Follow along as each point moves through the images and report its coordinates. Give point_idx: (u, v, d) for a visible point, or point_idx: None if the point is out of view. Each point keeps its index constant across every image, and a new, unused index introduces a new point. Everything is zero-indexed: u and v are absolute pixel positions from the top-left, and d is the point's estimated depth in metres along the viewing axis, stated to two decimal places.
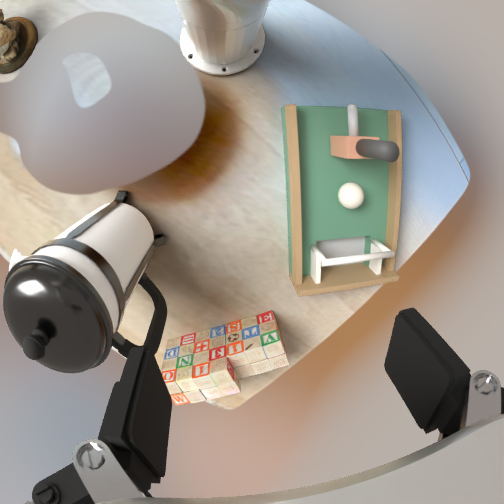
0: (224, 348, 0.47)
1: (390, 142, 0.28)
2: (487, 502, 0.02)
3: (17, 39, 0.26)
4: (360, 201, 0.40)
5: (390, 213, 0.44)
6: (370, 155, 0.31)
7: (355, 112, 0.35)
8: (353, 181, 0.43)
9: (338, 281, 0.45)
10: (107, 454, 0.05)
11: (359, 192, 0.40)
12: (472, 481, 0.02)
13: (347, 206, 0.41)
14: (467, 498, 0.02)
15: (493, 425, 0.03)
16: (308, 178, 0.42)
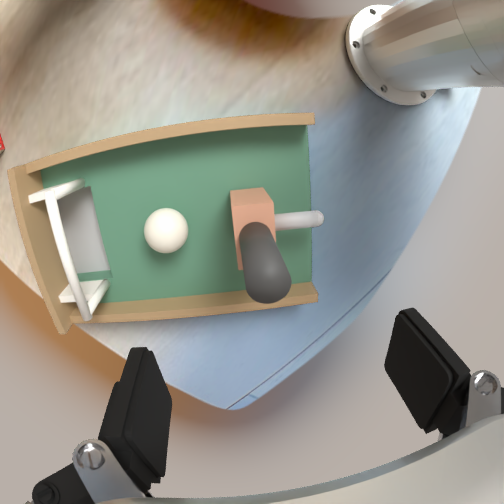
0: None
1: (288, 280, 0.15)
2: (487, 502, 0.02)
3: None
4: (157, 247, 0.24)
5: (151, 304, 0.29)
6: (247, 245, 0.18)
7: (311, 223, 0.24)
8: (190, 234, 0.27)
9: (35, 233, 0.22)
10: (107, 454, 0.05)
11: (173, 242, 0.24)
12: (472, 481, 0.02)
13: (146, 225, 0.24)
14: (467, 498, 0.02)
15: (493, 425, 0.03)
16: (187, 156, 0.25)
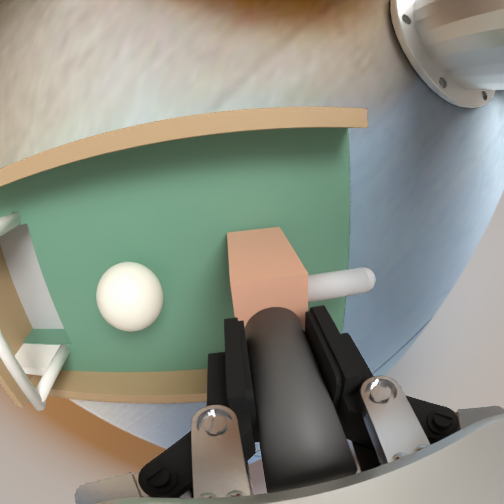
0: None
1: (351, 472, 0.06)
2: (487, 502, 0.02)
3: None
4: (117, 326, 0.14)
5: (123, 381, 0.19)
6: (265, 381, 0.08)
7: (358, 289, 0.14)
8: (168, 296, 0.18)
9: None
10: (232, 416, 0.07)
11: (138, 321, 0.14)
12: (472, 481, 0.02)
13: (98, 292, 0.14)
14: (467, 498, 0.02)
15: (493, 425, 0.03)
16: (158, 177, 0.15)
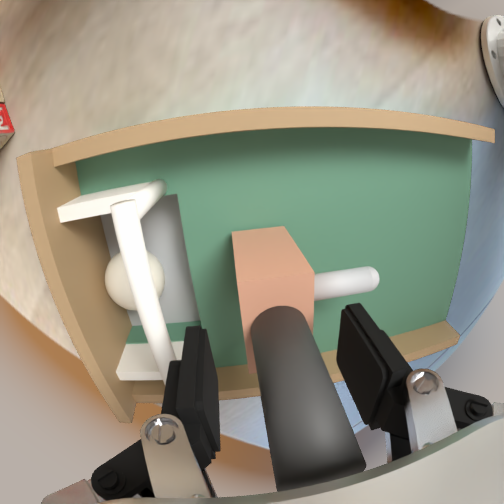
0: None
1: (360, 469, 0.06)
2: (487, 502, 0.02)
3: None
4: None
5: None
6: (274, 380, 0.08)
7: (362, 288, 0.14)
8: None
9: (73, 277, 0.13)
10: (179, 426, 0.06)
11: None
12: (472, 481, 0.02)
13: None
14: (467, 498, 0.02)
15: (493, 425, 0.03)
16: (350, 159, 0.16)
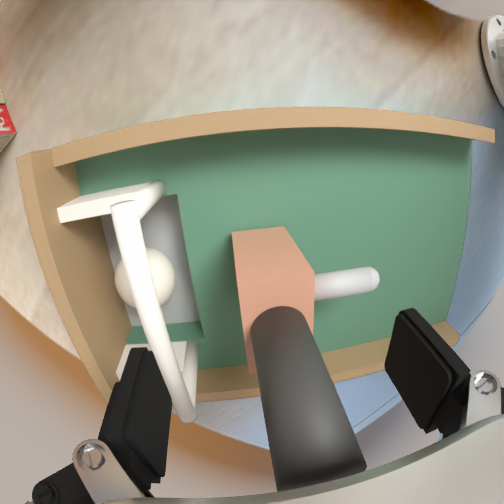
0: None
1: (360, 469, 0.06)
2: (487, 502, 0.02)
3: None
4: None
5: None
6: (274, 380, 0.08)
7: (362, 289, 0.14)
8: None
9: (73, 278, 0.13)
10: (107, 454, 0.05)
11: None
12: (472, 481, 0.02)
13: (165, 263, 0.17)
14: (467, 498, 0.02)
15: (493, 425, 0.03)
16: (350, 160, 0.16)
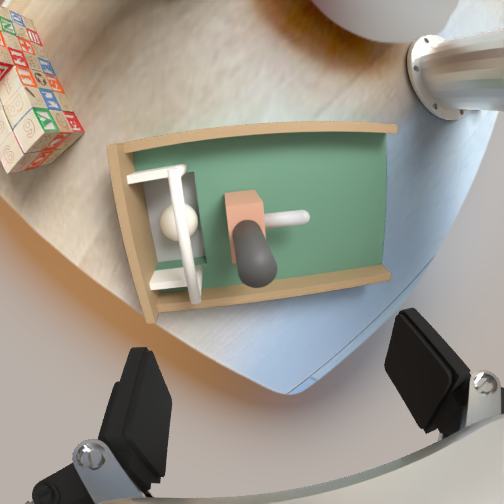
0: (24, 65, 0.17)
1: (274, 267, 0.18)
2: (487, 502, 0.02)
3: None
4: None
5: (246, 288, 0.32)
6: (240, 239, 0.20)
7: (298, 221, 0.27)
8: None
9: (132, 216, 0.25)
10: (107, 454, 0.05)
11: None
12: (472, 481, 0.02)
13: (193, 209, 0.30)
14: (467, 498, 0.02)
15: (493, 425, 0.03)
16: (293, 151, 0.28)
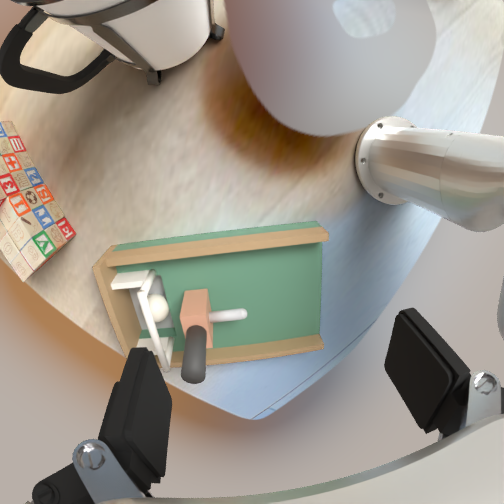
0: (15, 191, 0.25)
1: (203, 374, 0.26)
2: (487, 502, 0.02)
3: None
4: None
5: (206, 353, 0.41)
6: (186, 348, 0.29)
7: (237, 318, 0.35)
8: (237, 308, 0.39)
9: (118, 311, 0.34)
10: (107, 454, 0.05)
11: None
12: (472, 481, 0.02)
13: (165, 299, 0.38)
14: (467, 498, 0.02)
15: (493, 425, 0.03)
16: (237, 258, 0.36)
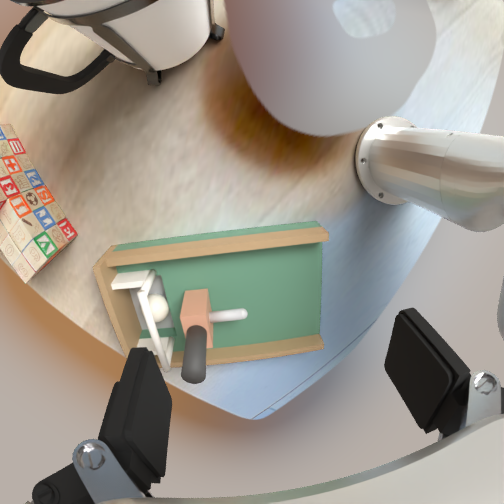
0: (15, 193, 0.26)
1: (203, 374, 0.26)
2: (487, 502, 0.02)
3: None
4: None
5: (207, 353, 0.41)
6: (186, 348, 0.29)
7: (237, 318, 0.35)
8: (237, 308, 0.39)
9: (118, 311, 0.34)
10: (107, 454, 0.05)
11: None
12: (472, 481, 0.02)
13: (165, 299, 0.38)
14: (467, 498, 0.02)
15: (493, 425, 0.03)
16: (237, 258, 0.37)
